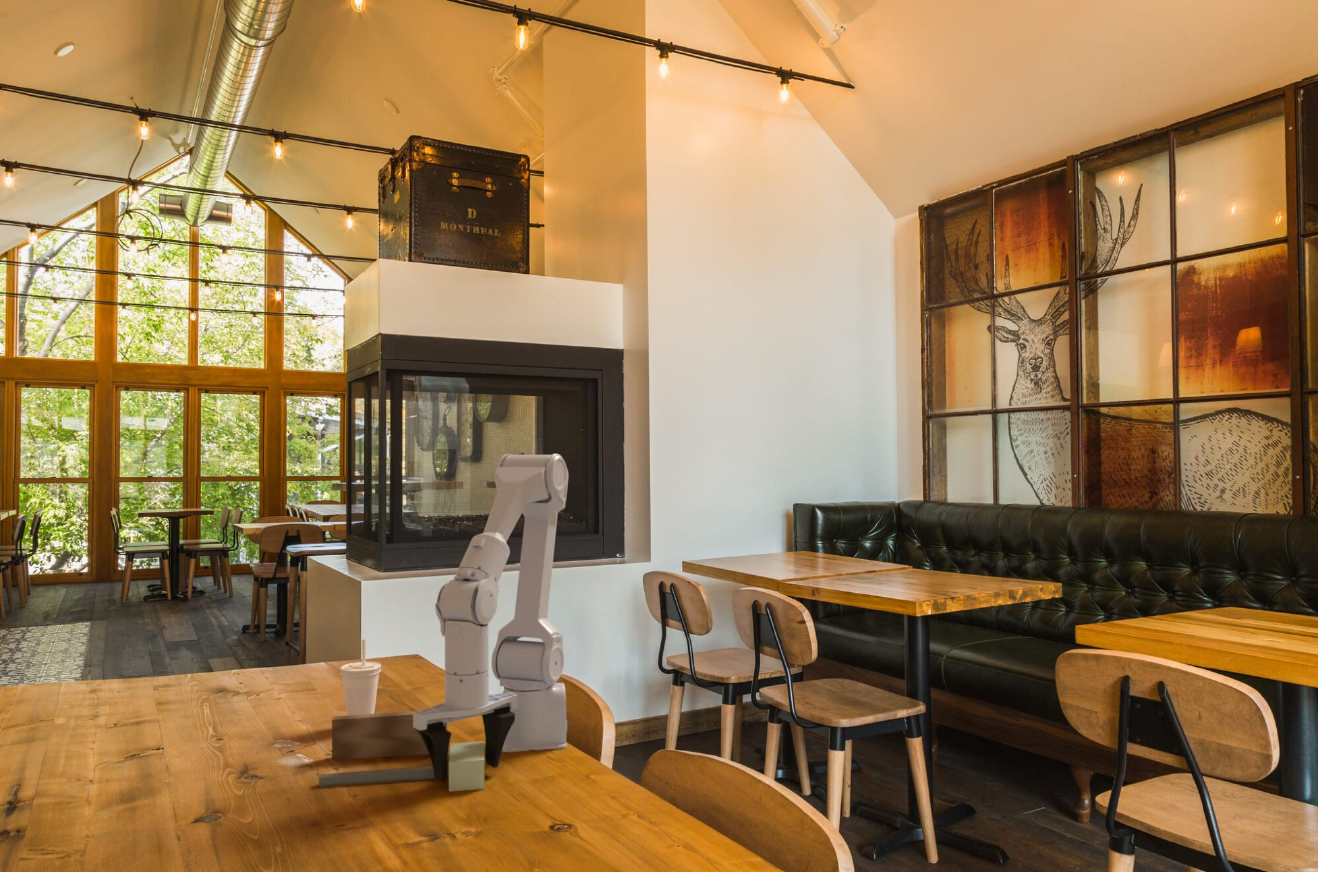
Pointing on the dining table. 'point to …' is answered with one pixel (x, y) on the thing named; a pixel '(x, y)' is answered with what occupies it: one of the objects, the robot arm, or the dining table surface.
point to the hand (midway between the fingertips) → (467, 772)
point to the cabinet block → (466, 766)
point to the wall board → (376, 736)
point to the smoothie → (360, 685)
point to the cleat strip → (377, 776)
